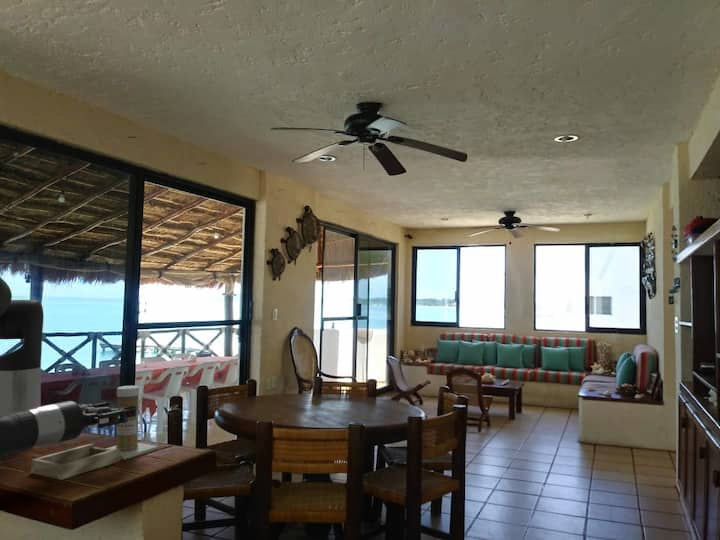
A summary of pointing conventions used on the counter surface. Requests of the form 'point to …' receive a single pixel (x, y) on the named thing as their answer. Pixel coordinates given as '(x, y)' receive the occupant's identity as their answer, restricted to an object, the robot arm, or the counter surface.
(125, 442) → the sprinkles bottle
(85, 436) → the counter surface
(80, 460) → the rectangular wooden frame
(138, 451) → the pad
